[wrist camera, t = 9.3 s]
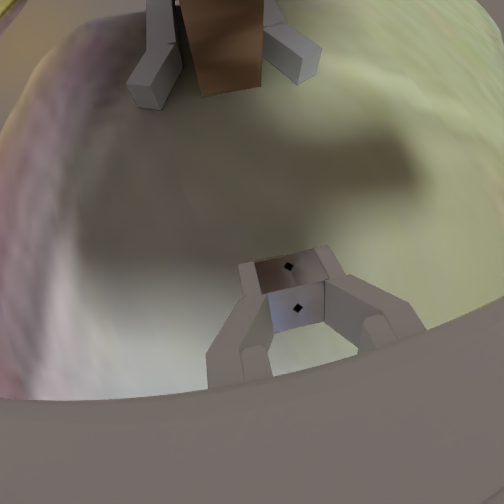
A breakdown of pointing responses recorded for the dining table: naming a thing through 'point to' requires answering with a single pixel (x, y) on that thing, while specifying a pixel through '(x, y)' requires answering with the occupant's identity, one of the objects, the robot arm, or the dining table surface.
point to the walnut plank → (225, 43)
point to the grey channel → (170, 61)
